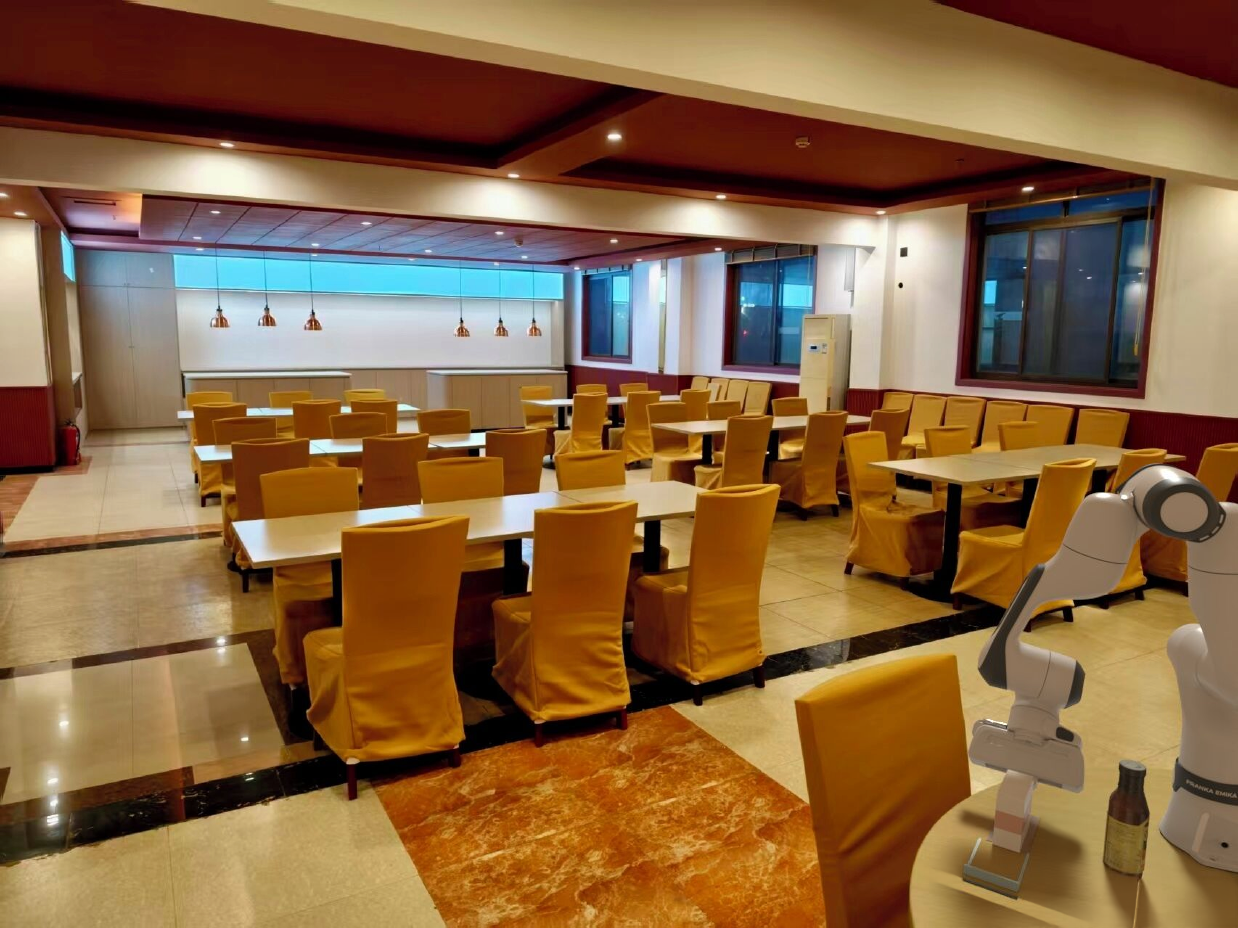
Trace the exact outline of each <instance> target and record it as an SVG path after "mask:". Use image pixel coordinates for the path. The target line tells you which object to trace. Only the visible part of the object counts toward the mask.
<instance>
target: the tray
mask: <svg viewBox="0 0 1238 928" xmlns="http://www.w3.org/2000/svg"><path fill="white" fill-rule="evenodd" d="M982 839H983V838H981V837H978V839H977V840H976V843H975V846H974V848H973V850H972V852H971V854H970V857H969V859H968V861H967V863H964V864H963V873H962V874H965V875H967V876H970V877H973V878H976V879H979V880H981V881H985V882H987V883H990V884H993V885H996V886H999V887H1001V888H1003V889H1007V890H1010V891H1013V892H1016V893H1018V892H1019V889H1020V886H1021V883H1022V879H1023V878H1024V877H1023V876H1024V874H1025V871H1026V868H1027V864H1028V862H1029V859H1030V856H1031V854H1030V853H1029V854H1028V853H1025V858H1024V860H1023V864H1022V867H1021V870H1020V871H1019V872H1020V873H1019V876H1018V878H1017V880H1014V879H1011V878H1008V877H1006V876H1003V875H1000V874H996V873H993V872H991V871H988V870H985V869H981V868H979V867H977V866H972V862H973V860H974V858H975V855H976V853H977V852H978V851H977V850H978V849H979V846H980V843H981V841H982ZM962 882H965V883H968V884H970V885H972V886H976V887H978V888H981V889H984V890H986V891H990V892H993V893H995V894H998V895H1000V896H1004V897H1006V898H1009V899H1012V900H1015V901H1018V898H1019V896H1017V895H1014V894H1011V893H1008V892H1005V891H1003V890H999V889H997V888H994V887H990V886H987V885H985V884H982V883H979V882H977V881H975V880H974V881H973V880H972V879H968V878H966V877H962Z"/></svg>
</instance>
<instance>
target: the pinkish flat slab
mask: <svg viewBox="0 0 1238 928" xmlns="http://www.w3.org/2000/svg"><path fill="white" fill-rule="evenodd" d="M1040 820H1041V818H1040V817H1037V816H1034V815H1031V814H1030V823H1029V828H1028V831H1027V834H1026V837H1025V839H1024V842H1023V845H1022V848H1021V850H1020V853H1025V854H1027V853H1028V854H1030V850H1031V847H1032V844H1033V842H1034V841H1033V840H1034V838H1035V835H1036V832H1037V829H1038V827H1039V823H1040ZM994 822H995V819H994V821H993V822H992V825H991V828H990V829H989V833H988V835H987V837H986V839H985V841H987V842H991V843H993V832H994Z"/></svg>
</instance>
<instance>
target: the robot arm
mask: <svg viewBox="0 0 1238 928" xmlns="http://www.w3.org/2000/svg"><path fill="white" fill-rule="evenodd" d="M1151 529H1152V530H1153V531H1155V532H1156V533H1158V534H1160V535H1162V536H1165V537H1167V538H1172V539H1177V540H1181V541H1185V544H1186V547H1187V556H1186V557H1187V587H1188V588H1187V590H1188V592H1187V593H1188V604H1189V608H1190V610H1191V612H1192V614H1193V616H1194V617H1195V618H1196V621H1197V622H1198V623H1187V624H1184V625H1182V626H1180V627H1178V628H1177V629H1175V630H1174V631H1173V632H1172V633H1171V635H1170V636H1169V638H1168V640H1167V643H1166V653H1167V657H1168V659H1169V661H1170V663H1171V665H1172V667H1173V670H1174V673H1175V677H1176V682H1177V683H1176V684H1177V688H1178V693H1179V694H1178V695H1179V698H1180V700H1179V701H1180V705H1181V707H1180V708H1181V715H1182V716H1181V717H1182V719H1181V720H1182V721H1181V723H1182V724H1181V726H1182V727H1181V733H1180V734H1181V735H1180V744H1179V751H1178V753H1179V754H1178V756H1177V757H1176V758H1175V762H1174V765H1173V771H1172V779H1171V785H1172V786H1171V787H1172V792H1171V797H1170V800H1169V802H1168V805H1167V808H1166V811H1165V813H1164V814H1163V817H1162V818H1161V821H1160V822H1159V825H1158V828H1159V831H1160V833H1161V835H1162V836H1163V837H1165V839H1166V840H1168V841H1169V842H1170V843H1171V844H1172V845H1174V846H1176V848H1179V849H1180V850H1181V851H1182V850H1183V851H1184V852H1185V853H1187V854H1189V855H1190V856H1191V858H1193V860H1195V861H1196V862H1197V863H1199V864H1201V865H1202V866H1205V867H1212V868H1215V869H1218V870H1219V869H1220V870H1225V871H1230V872H1233V873H1238V503H1235V502H1229V501H1218V500H1217V497H1216V496H1215V495H1214V494H1213V493H1212V491H1211V490H1210V489H1209V488H1208V487H1207V485H1205V484H1204V483H1202V482H1201V480H1199V479H1198V478H1197V477H1195V476H1194V475H1193V474H1191V473H1189V472H1187V471H1185V470H1182V469H1181V468H1178V467H1176V466H1174V465H1171V464H1169V463H1168V464H1167V463H1150V464H1146V465H1143V466H1141V467H1140V468H1137V469H1136V470H1135V471H1134V472H1132V473H1131V475H1129V477H1128V478H1127V479H1126V480H1124V481H1123V482H1122V483H1120V485H1119V486H1117V487H1115V489H1114V493H1111V492H1095V493H1092V494H1089V495H1087V496H1086V497H1084V498H1083V500H1082V501H1081V503H1080V504H1079V506H1078V508H1076V511H1075V513H1074V514H1073V516H1072V519H1071V521H1070V522H1069V525H1068V526H1067V530H1066V531H1065V534H1064V537H1063V540H1062V542H1061V545H1060V547H1059V549H1058V550H1057V552H1056V553H1055V555H1053V557H1051V558H1050V559H1049V560H1048V561H1045V562H1043V563H1038V564H1036V565H1034V567H1032V569H1031V570H1030V571H1029V572H1028V574H1027V575H1026V577H1025V578H1024V580H1023V581H1022V583H1021V584H1020V586H1019V588H1018V589H1017V591H1016V592H1015V594H1014V596H1013V598H1012V600H1011V601H1010V604H1009V606H1008V607H1007V609H1005V612H1004V614H1003V616H1002V618H1001V620H1000V621H999V623H998V625H997V626H996V628H995V630H994V631H993V633H992V634H991V636H990V637H989V639H988V640H987V641H986V642H985V643H984V645H983V647H982V648H981V650H980V653H979V655H978V658H977V659H978V660H977V671H978V672H979V675H980V676H981V678H982V679H983V681H985V683H987V685H988V686H989V687H992V688H998V689H1002V690H1005V691H1008V690H1009V691H1011V692H1014V695H1015V696H1014V697H1015V698H1014V702H1013V703H1012V705H1011V707H1010V710H1009V715H1008V721H1007V723H1004V722H1001V721H994V720H992V719H988V718H983V719H978V720H976V721H975V722H974V723H973V725H972V730H971V731H972V732H971V734H972V737H971V741H970V744H969V747H968V751H967V756H968V759H969V761H970V762H971V763H972V764H973V765H976V766H980V767H983V768H986V769H990V770H994V771H997V772H1001V773H1004V774H1006V772H1007V770H1008V769H1009V770H1013V771H1016V772H1020V773H1023V774H1027V775H1030V776H1034V784H1033V791H1035V790H1036V789H1037V787H1038V783H1039V784H1043V785H1047V786H1050V787H1054V788H1057V789H1060V790H1065V791H1068V792H1071V793H1075V794H1079V793H1081V792H1082V791H1083V790H1084V788H1085V774H1086V772H1085V770H1086V769H1085V757H1084V754H1083V752H1082V751H1083V740H1082V737H1081V735H1080V734H1078V733H1077V732H1075V731H1072V730H1071V729H1069V728H1067V727H1065V726H1064V725H1062V724H1061V722H1060V720H1061V719H1060V711H1061V709H1062V710H1066V709H1069V708H1071V707H1073V706H1075V705H1077V704H1079V703H1080V702H1081V700H1082V695H1083V690H1084V684H1085V679H1086V672H1085V671H1084V669H1083V666H1082V665H1081V663H1079V661H1078V660H1077V659H1074V658H1073V657H1071V656H1068V655H1065V654H1062V653H1059V652H1056V651H1053V650H1050V649H1045V648H1042V647H1038V646H1035V645H1032V644H1028V643H1026V642H1023V641H1021V640H1019V639H1020V636H1021V634H1022V633H1023V631H1024V630H1025V628H1026V626H1027V625H1028V622H1030V620H1031V618H1032V616H1033V614H1034V612H1035V611H1036V610H1037V608H1039V607H1040V606H1042V605H1043V604H1047V603H1049V602H1050V603H1051V602H1055V601H1066V600H1067V601H1068V600H1069V601H1070V600H1072V601H1073V600H1076V601H1077V600H1090V599H1096V598H1100V597H1103V596H1105V595H1107V594H1109V593H1110V592H1112V591H1114V590H1115V589H1116V588H1117V587H1118V585H1119V584H1120V583H1121V582H1120V581H1121V580H1122V579H1123V576H1124V574H1125V571H1126V569H1127V567H1128V565H1129V561H1130V558H1131V556H1132V552H1133V549H1134V546H1135V545H1136V543H1137V542H1138V540H1139V539H1140V538H1141V536H1143V535H1144V534H1145V533H1147V532H1149V531H1150V530H1151Z"/></svg>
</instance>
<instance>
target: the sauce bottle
mask: <svg viewBox="0 0 1238 928" xmlns="http://www.w3.org/2000/svg"><path fill="white" fill-rule="evenodd" d="M1146 766H1147V765H1144V763H1141V762H1140V761H1136V760H1132V759H1121V760H1120V761H1119V762H1118V772H1119V775H1118V781H1117V787H1116V788H1115V789H1114V790H1113V791H1112V792H1111V793H1110V795H1109V799H1108V805H1107V806H1108V809H1107V811H1106V820H1105V830H1104V831H1105V832H1104V842H1103V853H1102V855H1103V856H1102V861H1103V862H1104V864H1105V866H1107V867H1108V868H1109V869H1110V870H1112V871H1114V872H1116V873H1119V874H1121V875H1123V876H1129V877H1137V876H1138V880H1137V882H1138V881H1141V880H1142V877H1143V873H1144V871H1145V864H1146V855H1147V849H1148V848H1147V847H1148V837H1149V825H1150V816H1151V812H1150V809H1149V805H1148V801H1147V798H1146V794H1145V789H1144V787H1145V779H1146V776H1147V767H1146Z"/></svg>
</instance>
